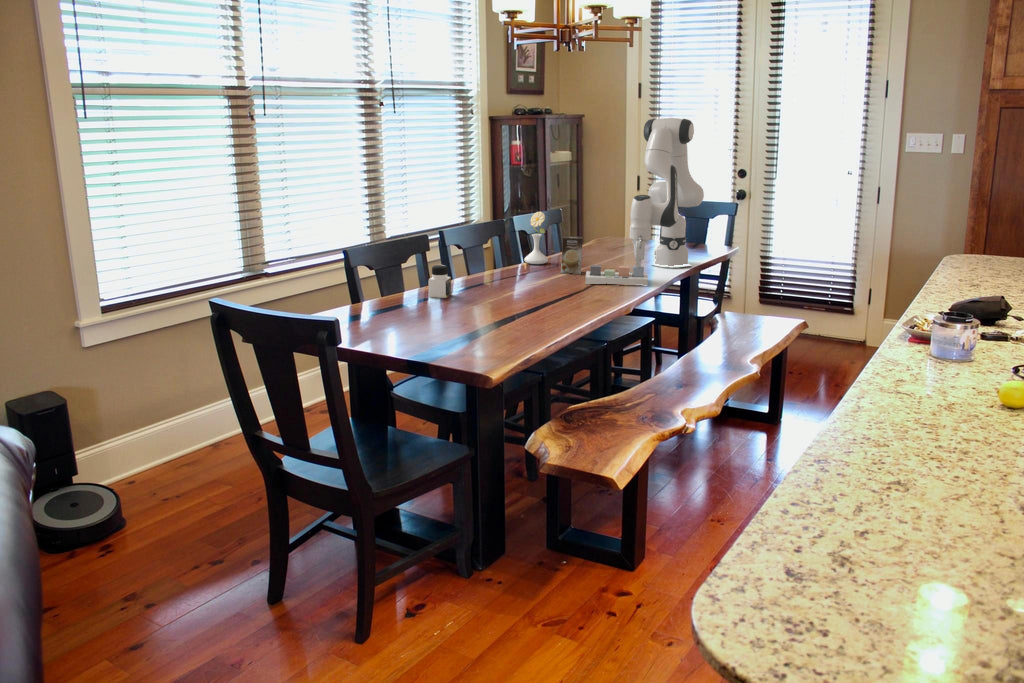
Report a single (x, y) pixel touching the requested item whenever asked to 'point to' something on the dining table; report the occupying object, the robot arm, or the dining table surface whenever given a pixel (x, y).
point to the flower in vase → (536, 241)
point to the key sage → (609, 272)
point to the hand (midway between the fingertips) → (638, 267)
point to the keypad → (616, 279)
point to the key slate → (638, 271)
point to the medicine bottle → (439, 282)
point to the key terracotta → (623, 271)
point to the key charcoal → (595, 270)
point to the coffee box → (571, 254)
